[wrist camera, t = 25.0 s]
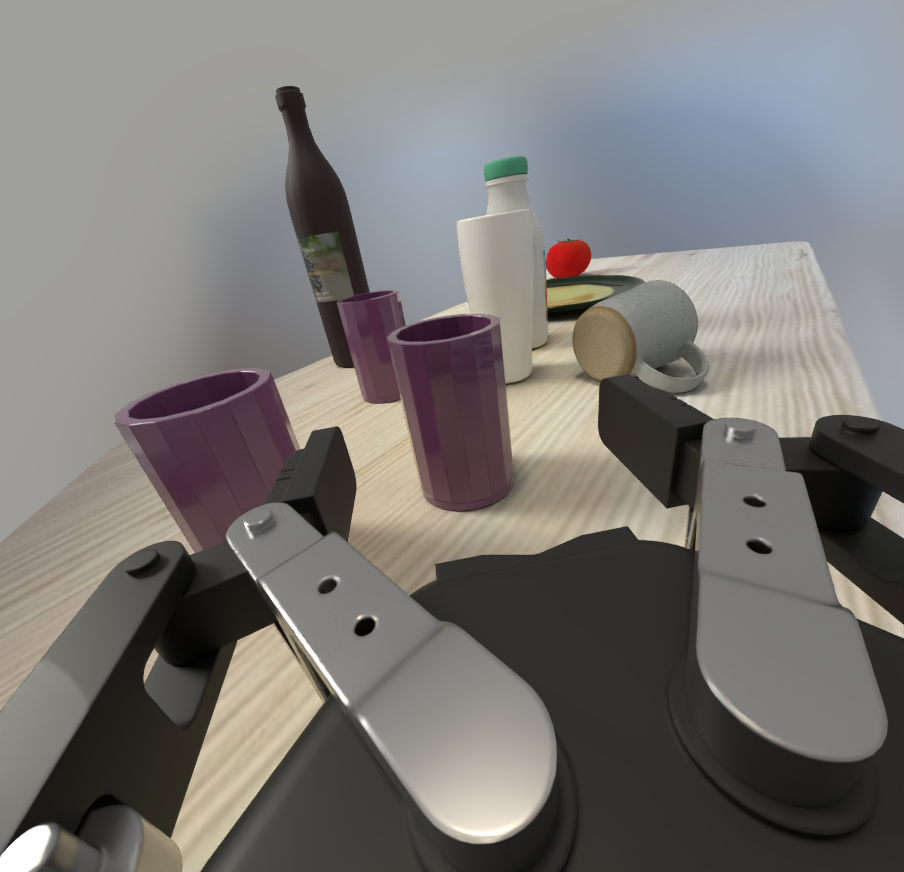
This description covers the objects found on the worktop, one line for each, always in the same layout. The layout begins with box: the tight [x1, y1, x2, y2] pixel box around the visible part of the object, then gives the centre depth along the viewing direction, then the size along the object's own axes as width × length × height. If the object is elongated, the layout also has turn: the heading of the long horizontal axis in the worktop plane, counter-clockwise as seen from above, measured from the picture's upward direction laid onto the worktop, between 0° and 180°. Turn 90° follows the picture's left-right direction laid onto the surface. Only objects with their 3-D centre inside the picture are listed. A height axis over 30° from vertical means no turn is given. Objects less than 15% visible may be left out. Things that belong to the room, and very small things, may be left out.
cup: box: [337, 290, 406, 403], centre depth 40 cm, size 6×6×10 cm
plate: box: [546, 275, 645, 313], centre depth 69 cm, size 28×28×2 cm
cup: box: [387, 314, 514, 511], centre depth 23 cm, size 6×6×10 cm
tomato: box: [546, 239, 591, 278], centre depth 91 cm, size 9×10×8 cm
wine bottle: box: [276, 86, 369, 367], centre depth 49 cm, size 7×7×30 cm
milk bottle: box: [484, 156, 548, 349], centre depth 46 cm, size 8×8×20 cm
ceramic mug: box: [573, 280, 709, 393], centre depth 34 cm, size 11×8×8 cm
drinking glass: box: [456, 209, 535, 384], centre depth 38 cm, size 7×7×15 cm
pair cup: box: [114, 368, 300, 553], centre depth 19 cm, size 6×6×10 cm
